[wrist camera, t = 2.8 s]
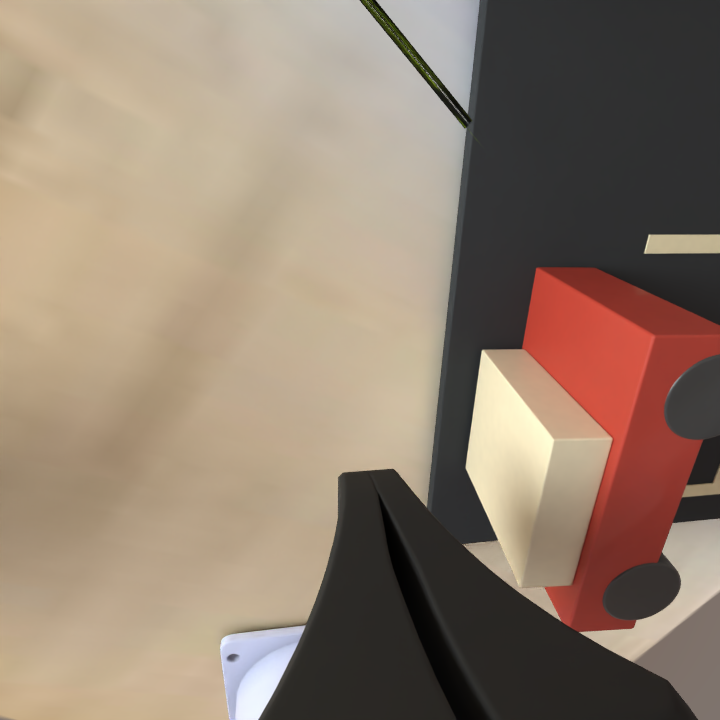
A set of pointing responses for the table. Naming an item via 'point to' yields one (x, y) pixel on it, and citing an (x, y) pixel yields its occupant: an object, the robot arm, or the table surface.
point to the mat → (579, 193)
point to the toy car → (594, 442)
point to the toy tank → (414, 62)
